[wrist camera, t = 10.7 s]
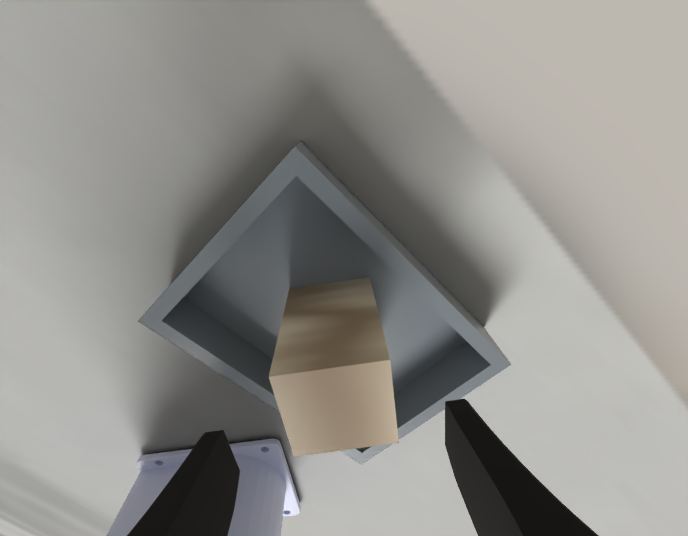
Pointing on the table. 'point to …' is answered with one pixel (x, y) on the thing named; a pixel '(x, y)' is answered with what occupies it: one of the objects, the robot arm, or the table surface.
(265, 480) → the robot arm
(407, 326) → the tray
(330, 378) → the block
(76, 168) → the table surface
